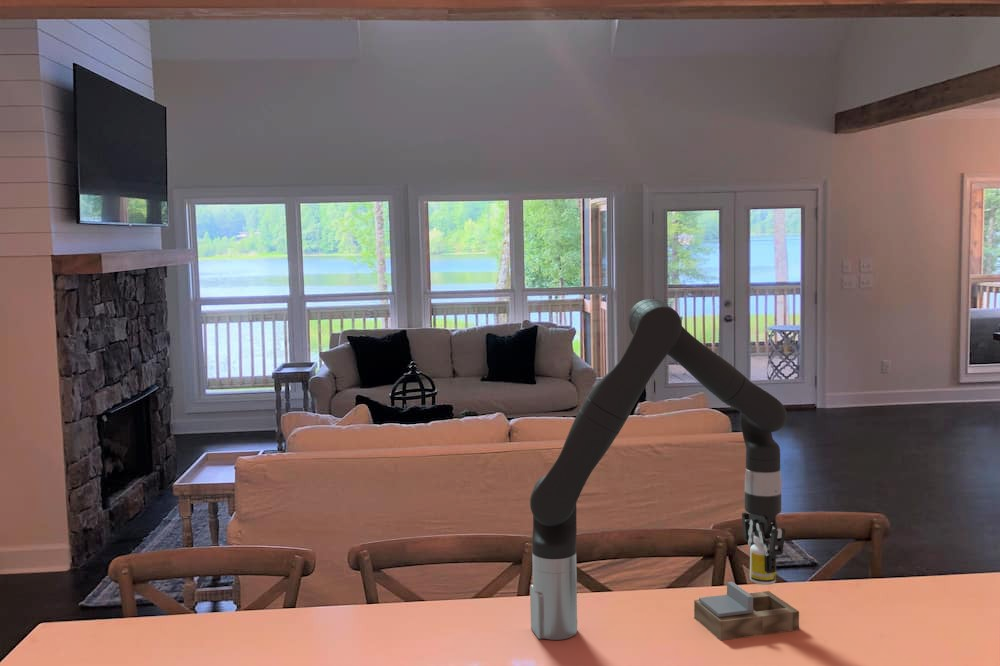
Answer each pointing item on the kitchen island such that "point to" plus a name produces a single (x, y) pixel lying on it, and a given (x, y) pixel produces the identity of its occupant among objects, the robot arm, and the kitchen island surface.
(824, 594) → the kitchen island surface
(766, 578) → the supplement bottle
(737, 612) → the panel
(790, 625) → the socket board
